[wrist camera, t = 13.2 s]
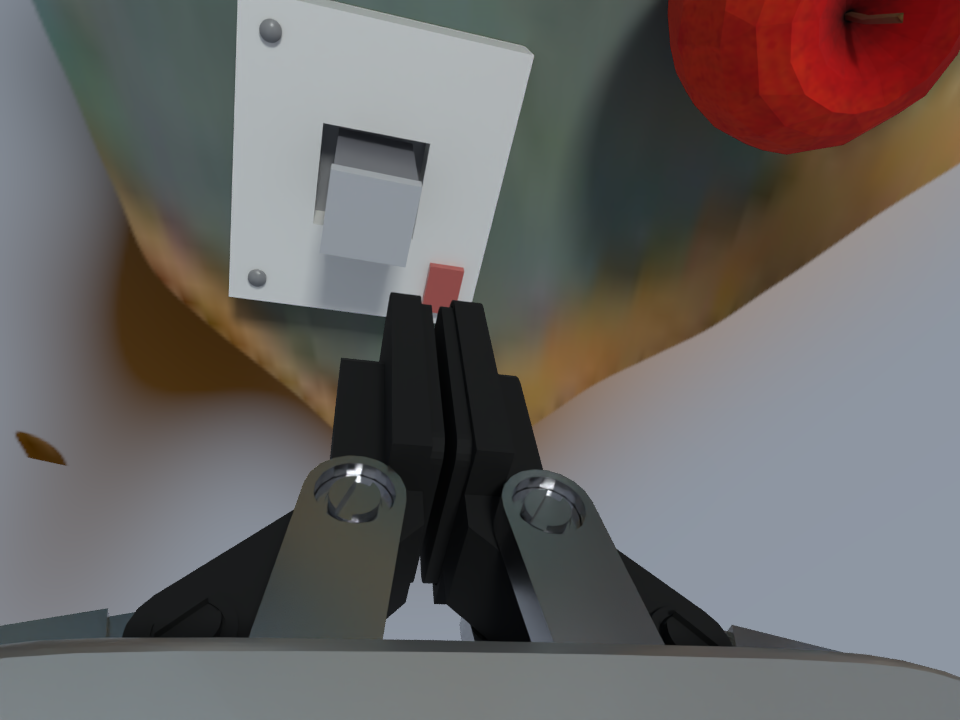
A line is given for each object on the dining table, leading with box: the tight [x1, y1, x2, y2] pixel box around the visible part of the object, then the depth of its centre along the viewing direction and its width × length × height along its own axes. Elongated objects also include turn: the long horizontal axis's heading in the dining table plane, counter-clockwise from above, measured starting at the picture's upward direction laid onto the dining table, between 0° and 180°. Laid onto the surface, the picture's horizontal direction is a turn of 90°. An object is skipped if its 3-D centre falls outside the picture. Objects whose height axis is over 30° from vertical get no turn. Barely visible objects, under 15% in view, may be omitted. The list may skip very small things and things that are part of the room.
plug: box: [320, 128, 422, 267], centre depth 35 cm, size 4×4×7 cm
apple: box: [668, 0, 960, 155], centre depth 30 cm, size 12×12×13 cm
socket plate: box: [229, 0, 534, 323], centre depth 37 cm, size 14×16×3 cm
